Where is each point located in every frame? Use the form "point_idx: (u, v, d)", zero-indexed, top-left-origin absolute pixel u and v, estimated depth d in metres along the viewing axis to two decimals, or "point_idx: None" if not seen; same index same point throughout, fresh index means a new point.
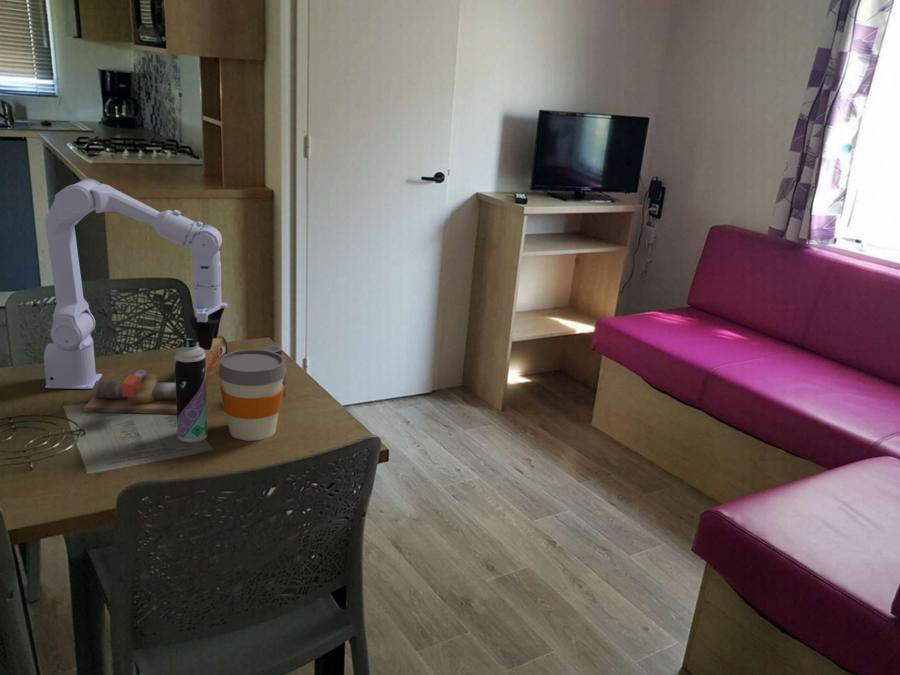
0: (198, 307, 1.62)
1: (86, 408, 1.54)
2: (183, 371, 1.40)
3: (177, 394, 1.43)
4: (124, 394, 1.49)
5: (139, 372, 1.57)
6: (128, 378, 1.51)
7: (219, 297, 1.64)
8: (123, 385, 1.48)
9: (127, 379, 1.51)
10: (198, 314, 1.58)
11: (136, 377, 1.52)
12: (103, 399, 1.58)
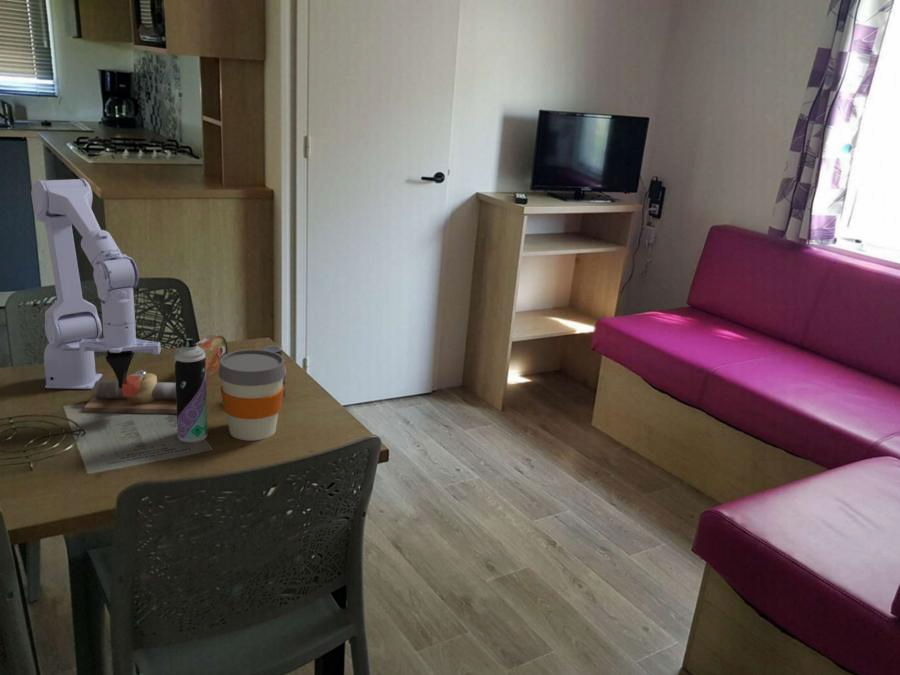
0: None
1: (86, 408, 1.54)
2: (183, 371, 1.40)
3: (177, 394, 1.43)
4: (124, 394, 1.49)
5: (139, 372, 1.57)
6: (128, 378, 1.51)
7: (109, 338, 1.44)
8: (123, 385, 1.48)
9: (127, 379, 1.51)
10: None
11: (136, 377, 1.52)
12: (103, 399, 1.58)
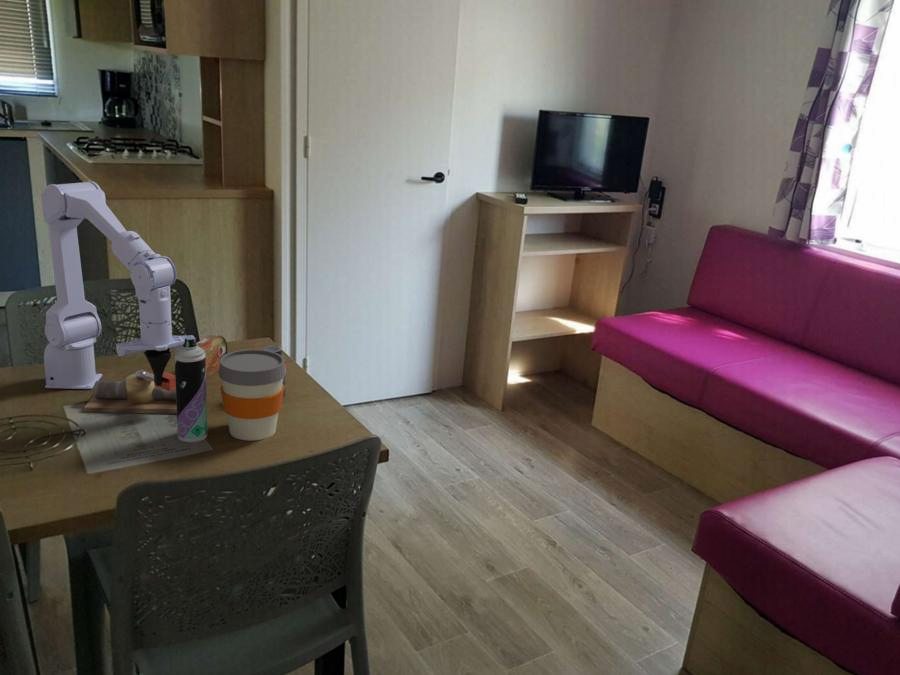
0: (140, 341, 1.50)
1: (86, 408, 1.54)
2: (183, 371, 1.40)
3: (177, 394, 1.43)
4: (171, 388, 1.53)
5: (140, 372, 1.57)
6: None
7: (154, 337, 1.47)
8: (170, 380, 1.53)
9: None
10: (116, 345, 1.46)
11: None
12: (103, 399, 1.58)
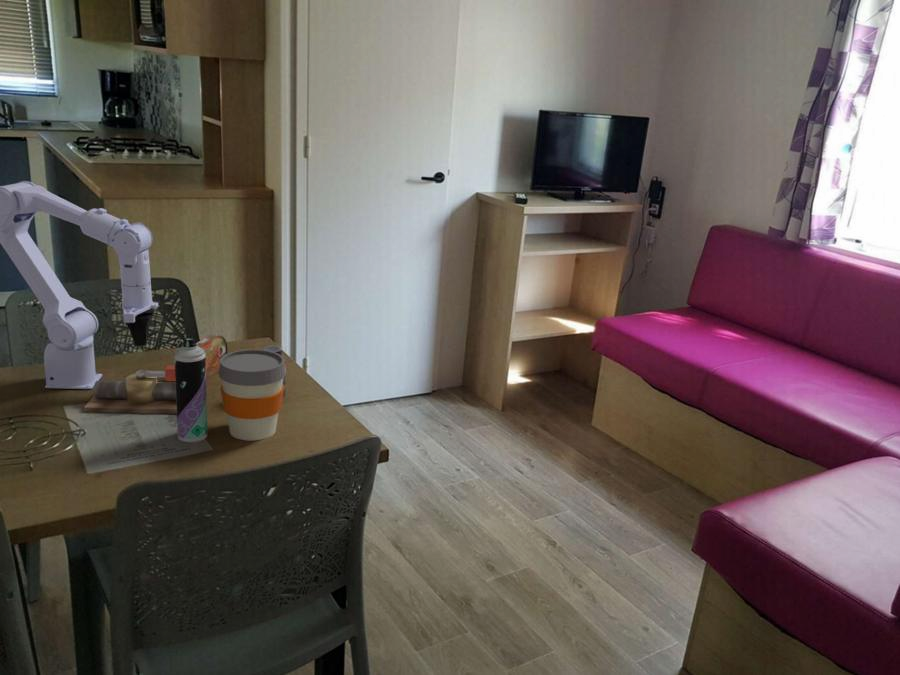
0: (126, 307, 1.57)
1: (86, 408, 1.54)
2: (183, 371, 1.40)
3: (177, 394, 1.43)
4: None
5: (141, 372, 1.58)
6: (173, 368, 1.58)
7: (148, 297, 1.59)
8: None
9: None
10: (124, 314, 1.53)
11: (171, 366, 1.59)
12: (103, 399, 1.58)
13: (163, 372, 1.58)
